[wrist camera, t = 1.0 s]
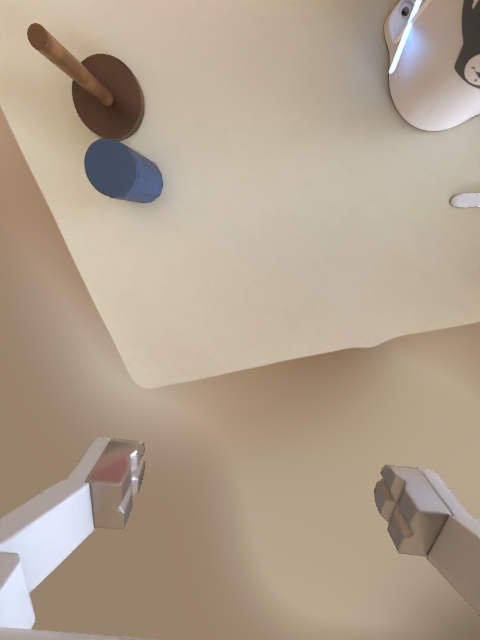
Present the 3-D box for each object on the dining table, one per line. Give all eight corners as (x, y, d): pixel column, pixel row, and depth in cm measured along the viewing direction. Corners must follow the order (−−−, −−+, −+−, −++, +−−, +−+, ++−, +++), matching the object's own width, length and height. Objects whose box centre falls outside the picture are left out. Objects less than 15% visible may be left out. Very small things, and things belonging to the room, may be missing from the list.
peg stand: (87, 43, 34) (-7, -63, 21) (154, 83, 35) (102, 5, 22) (69, 119, 37) (-23, 66, 24) (131, 153, 38) (74, 119, 25)
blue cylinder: (130, 150, 38) (92, 127, 28) (168, 171, 39) (143, 155, 29) (117, 190, 40) (78, 181, 30) (154, 209, 41) (126, 206, 31)
